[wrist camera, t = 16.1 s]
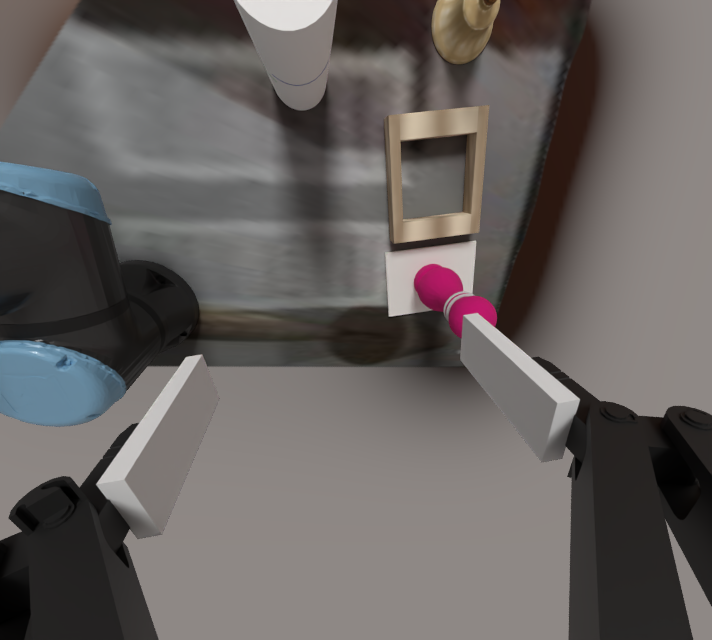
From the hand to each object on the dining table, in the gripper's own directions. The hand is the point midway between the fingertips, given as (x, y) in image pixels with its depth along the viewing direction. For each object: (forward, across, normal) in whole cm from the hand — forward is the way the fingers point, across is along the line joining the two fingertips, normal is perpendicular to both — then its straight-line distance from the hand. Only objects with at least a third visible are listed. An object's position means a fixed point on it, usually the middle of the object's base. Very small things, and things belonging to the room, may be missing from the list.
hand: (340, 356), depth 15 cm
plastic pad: (+37, -18, +10) cm, 42 cm away
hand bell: (+37, -22, -24) cm, 49 cm away
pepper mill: (+36, -18, +10) cm, 42 cm away
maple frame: (+37, -18, -6) cm, 41 cm away
